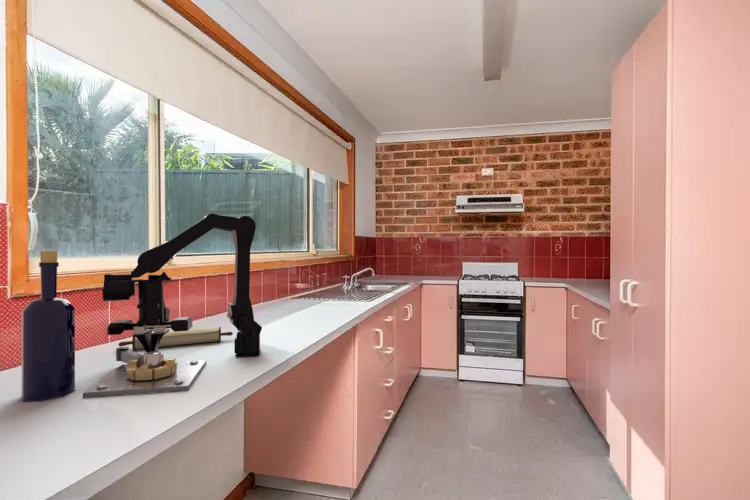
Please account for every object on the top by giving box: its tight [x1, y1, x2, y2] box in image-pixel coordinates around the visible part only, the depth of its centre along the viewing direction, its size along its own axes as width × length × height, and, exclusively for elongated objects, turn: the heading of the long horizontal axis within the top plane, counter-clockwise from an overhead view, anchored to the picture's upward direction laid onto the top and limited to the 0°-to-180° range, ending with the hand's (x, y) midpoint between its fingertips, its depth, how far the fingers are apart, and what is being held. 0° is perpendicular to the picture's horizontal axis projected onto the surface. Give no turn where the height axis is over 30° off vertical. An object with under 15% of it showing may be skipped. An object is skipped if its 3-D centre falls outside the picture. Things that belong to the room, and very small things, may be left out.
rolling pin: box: [118, 326, 234, 351], centre depth 125 cm, size 32×6×5 cm, turn 117°
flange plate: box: [82, 350, 207, 399], centre depth 93 cm, size 20×20×6 cm
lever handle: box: [115, 346, 178, 380], centre depth 97 cm, size 10×22×4 cm, turn 54°
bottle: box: [20, 250, 77, 403], centre depth 83 cm, size 9×9×30 cm
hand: (152, 358), depth 103 cm, fingers closed
